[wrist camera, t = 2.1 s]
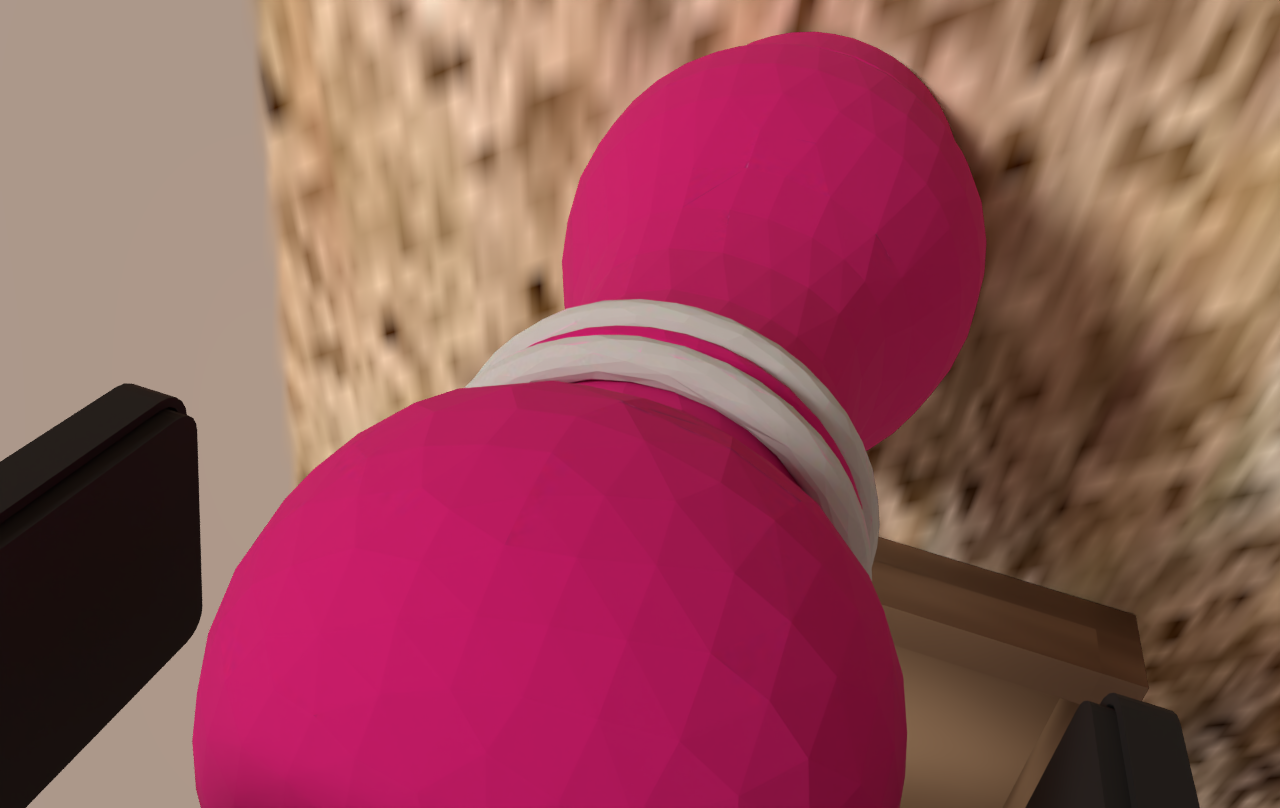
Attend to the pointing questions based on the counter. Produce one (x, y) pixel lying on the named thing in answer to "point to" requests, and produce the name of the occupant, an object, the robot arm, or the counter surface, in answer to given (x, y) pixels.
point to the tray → (993, 674)
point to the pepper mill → (633, 486)
